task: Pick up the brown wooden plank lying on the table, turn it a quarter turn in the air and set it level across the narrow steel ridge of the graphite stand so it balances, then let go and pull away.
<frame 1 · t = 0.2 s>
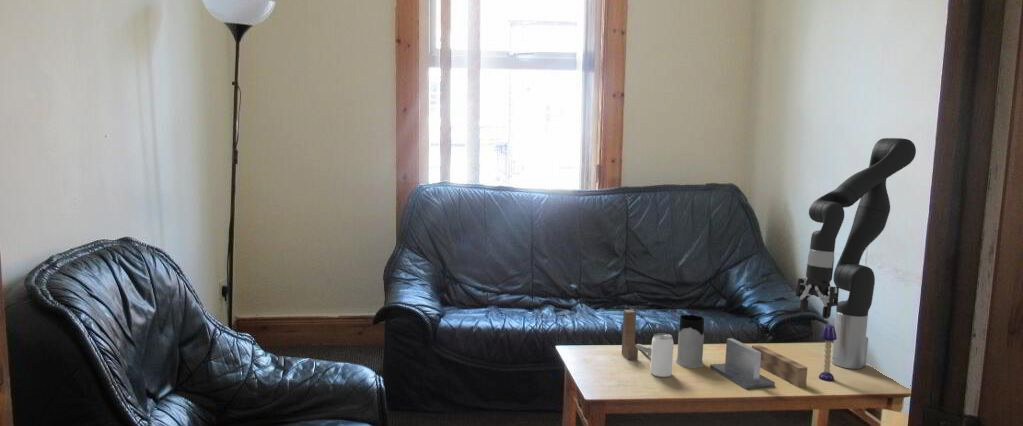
hand: (814, 314, 214), 18 cm above the table, tool pointing down, fingers open, 8 cm apart
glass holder: (690, 361, 220), on the table
brown wooden plank: (776, 374, 210), on the table
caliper: (645, 356, 225), on the table
wooden block: (629, 357, 223), on the table
can: (660, 374, 207), on the table
ridge stand: (741, 377, 206), on the table
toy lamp: (825, 379, 207), on the table
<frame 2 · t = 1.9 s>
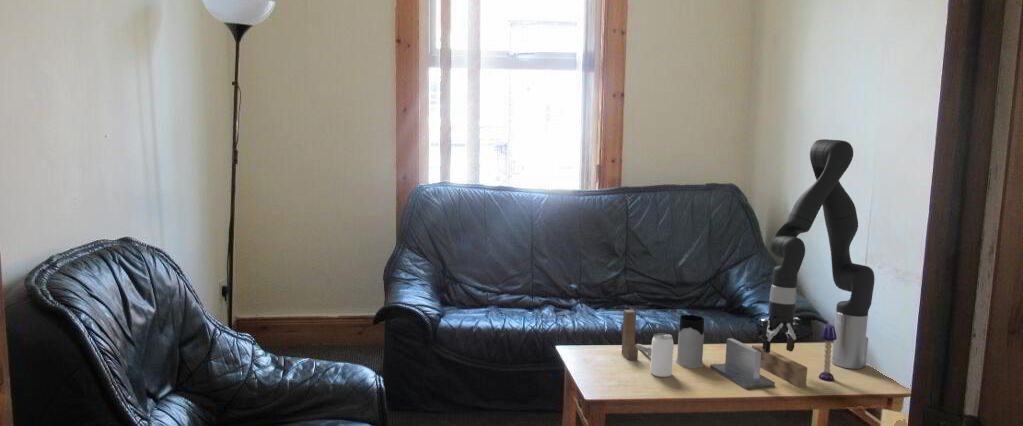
hand: (778, 351, 209), 7 cm above the table, tool pointing down, fingers open, 8 cm apart
nothing on the table moved.
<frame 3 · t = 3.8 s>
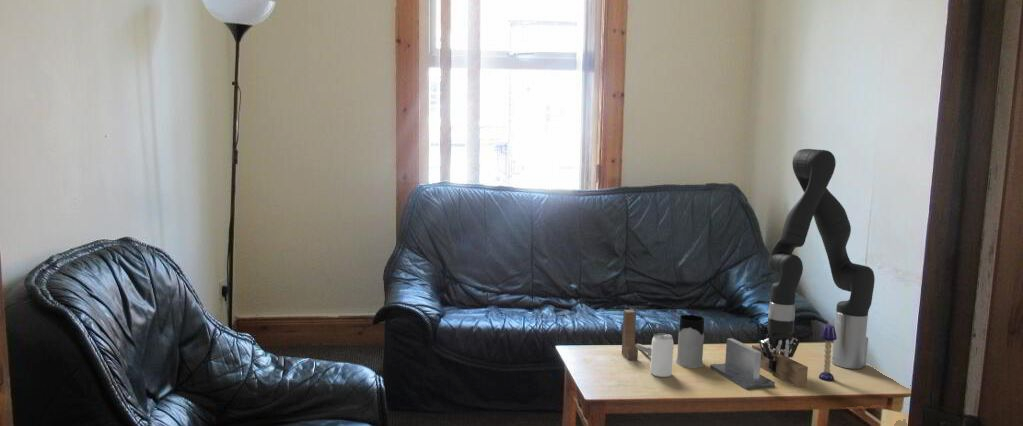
hand: (777, 370, 210), 1 cm above the table, tool pointing down, fingers closed on brown wooden plank, 3 cm apart
brown wooden plank: (777, 374, 210), on the table, touching gripper
everything else where it was.
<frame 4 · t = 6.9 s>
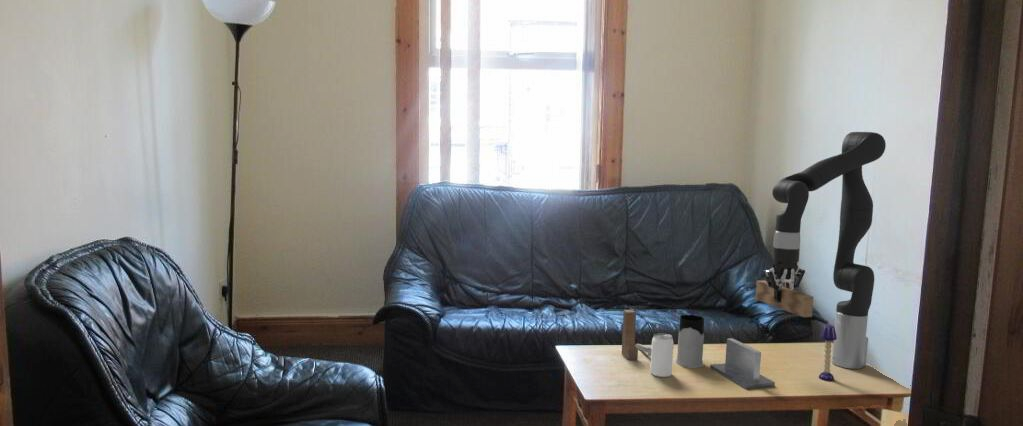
hand: (782, 301, 208), 23 cm above the table, tool pointing down, fingers closed on brown wooden plank, 3 cm apart
brown wooden plank: (782, 307, 208), point 21 cm above the table, touching gripper
everything else where it was.
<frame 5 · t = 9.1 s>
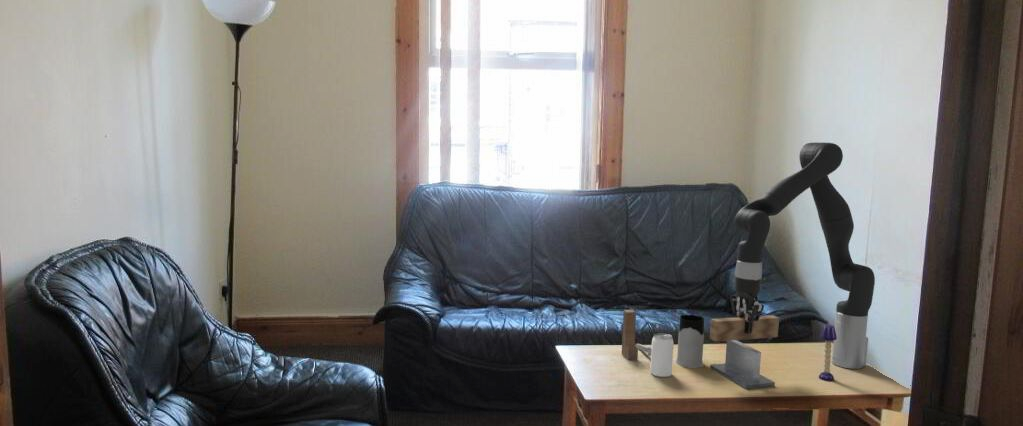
hand: (744, 331, 205), 14 cm above the table, tool pointing down, fingers closed on brown wooden plank, 3 cm apart
brown wooden plank: (743, 337, 205), point 12 cm above the table, touching gripper
everything else where it was.
when the fingers open (12 cm above the table, at t = 10.2 s): brown wooden plank stays where it is, resting on ridge stand.
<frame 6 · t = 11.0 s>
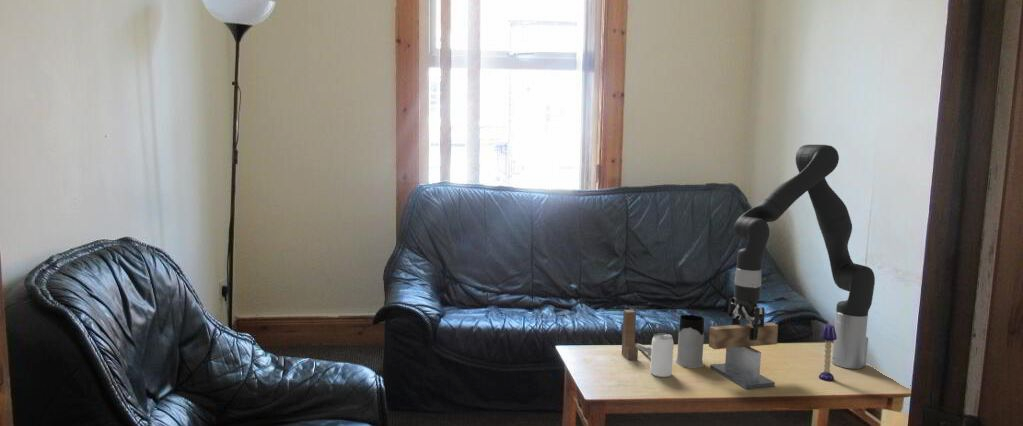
hand: (744, 335, 205), 13 cm above the table, tool pointing down, fingers open, 8 cm apart
brown wooden plank: (743, 345, 205), point 10 cm above the table, touching ridge stand
everything else where it was.
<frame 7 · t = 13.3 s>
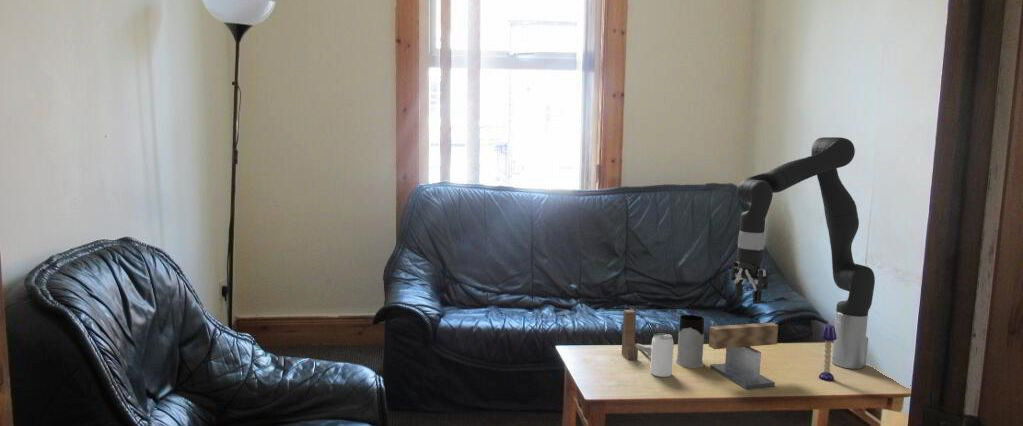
hand: (747, 299, 204), 24 cm above the table, tool pointing down, fingers open, 8 cm apart
nothing on the table moved.
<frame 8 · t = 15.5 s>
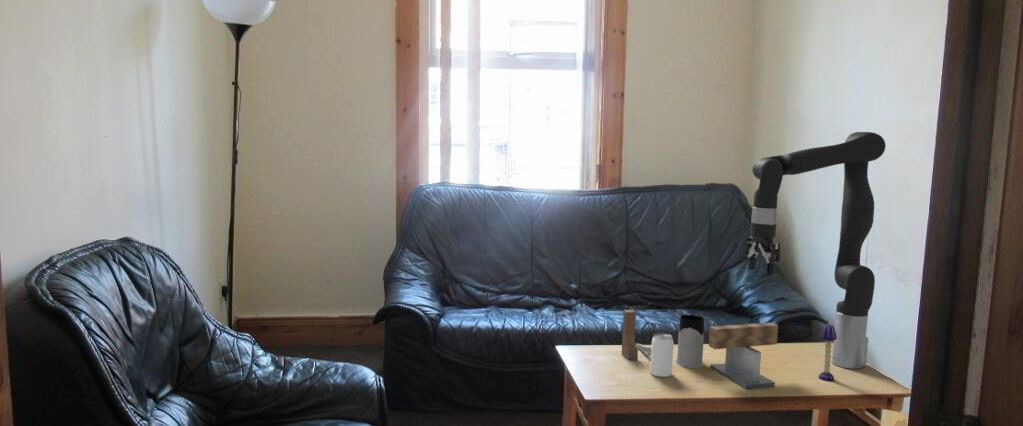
hand: (760, 272, 216), 30 cm above the table, tool pointing down, fingers open, 8 cm apart
nothing on the table moved.
at the end: brown wooden plank 0.1 cm off-centre on the ridge stand, point 10.0 cm above the ridge stand's base; brown wooden plank tilted 0°; the gripper is holding nothing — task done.
